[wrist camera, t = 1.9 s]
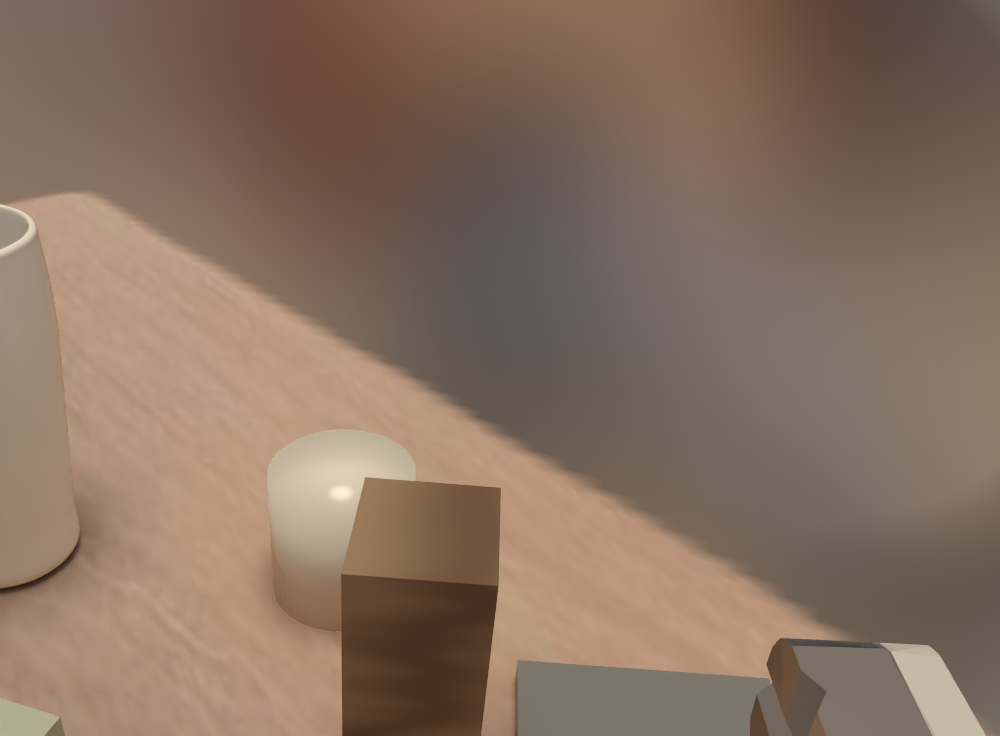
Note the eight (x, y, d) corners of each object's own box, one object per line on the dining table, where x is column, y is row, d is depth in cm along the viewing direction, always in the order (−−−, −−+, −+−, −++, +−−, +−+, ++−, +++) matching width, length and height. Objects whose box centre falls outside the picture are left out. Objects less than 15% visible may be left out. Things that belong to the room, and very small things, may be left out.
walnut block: (343, 847, 28) (340, 574, 22) (362, 739, 31) (364, 477, 25) (466, 856, 28) (498, 585, 22) (471, 746, 31) (500, 487, 25)
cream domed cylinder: (244, 584, 37) (234, 474, 34) (341, 516, 41) (340, 413, 38) (345, 654, 34) (344, 541, 31) (437, 572, 39) (445, 467, 36)
